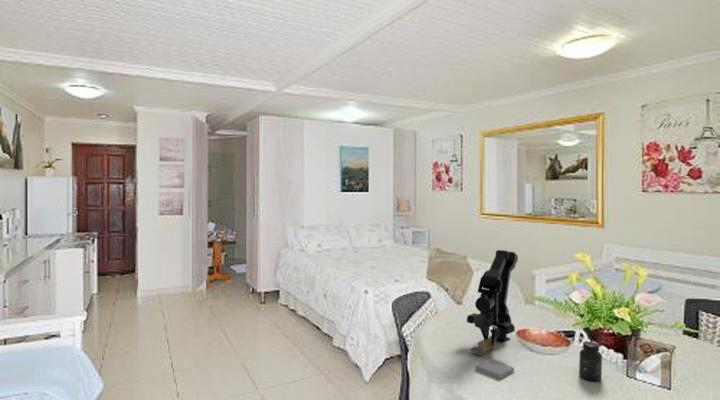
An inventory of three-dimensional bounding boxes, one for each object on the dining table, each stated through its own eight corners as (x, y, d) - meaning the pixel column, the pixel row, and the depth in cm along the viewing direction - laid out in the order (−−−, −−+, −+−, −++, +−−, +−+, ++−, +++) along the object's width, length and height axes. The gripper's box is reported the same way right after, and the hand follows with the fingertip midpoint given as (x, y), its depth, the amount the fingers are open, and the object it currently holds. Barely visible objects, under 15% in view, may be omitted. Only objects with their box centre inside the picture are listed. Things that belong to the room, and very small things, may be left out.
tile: (489, 358, 156) (475, 365, 150) (513, 367, 149) (500, 374, 143) (488, 364, 156) (475, 370, 150) (513, 373, 149) (500, 380, 143)
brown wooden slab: (488, 343, 172) (488, 336, 172) (498, 347, 168) (499, 339, 168) (469, 351, 164) (469, 343, 164) (480, 355, 160) (480, 347, 160)
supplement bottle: (574, 375, 147) (575, 341, 146) (588, 371, 149) (589, 339, 149) (591, 383, 140) (592, 348, 140) (606, 380, 143) (607, 346, 142)
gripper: (459, 304, 170) (458, 342, 171) (500, 315, 156) (499, 356, 156) (475, 299, 177) (474, 335, 178) (515, 310, 163) (514, 349, 163)
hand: (489, 344), depth 169 cm, fingers closed on brown wooden slab, 3 cm apart
